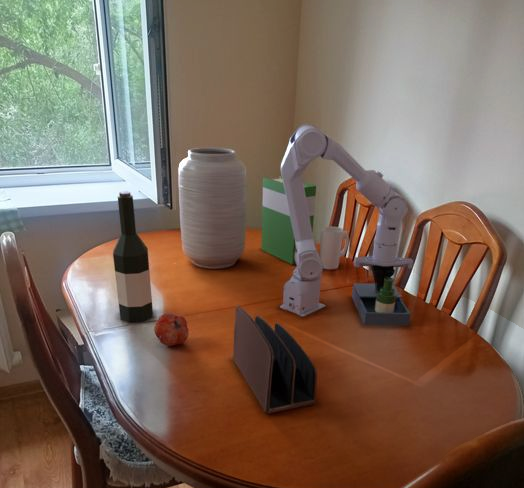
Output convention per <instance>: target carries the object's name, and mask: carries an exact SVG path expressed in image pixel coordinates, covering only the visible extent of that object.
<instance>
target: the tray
mask: <svg viewBox="0 0 524 488" xmlns="http://www.w3.org/2000/svg"><path fill="white" fill-rule="evenodd" d="M351 298H352V300H353V303H354V305H355V308H356V310H357V311H358V312H357V313H358V314H359V317H360V319H361V321H362V323H363V326H390V327H393V326H396V327H397V326H398V327H409V325H410V322H411V321H410V320H411V315H412V314H411V312H410V310H409V309H408V307H407V305H406V304H405V303H404V301H403V300H402V298H396V300H395V307H394V312H393V313H378V312H374V311H375V304H376V298H370V297H359V295H358V293H357V291H356V288H355V286H354V285H352V292H351Z"/></svg>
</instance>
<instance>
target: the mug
mask: <svg viewBox="0 0 524 488" xmlns="http://www.w3.org/2000/svg"><path fill="white" fill-rule="evenodd" d="M343 238H344V241H345V242H344V246H343V248H342V242H343ZM349 242H350V238H349V234H348V231H347V230H344V229H343V228H342V227H339V226H332V225H331V226H330V225H328V226H327V225H326V226H323V227H321V228H320V241H319V253H318V255H319V258H320V260H321V261H322V263H323V270H336V269H338V268H339V267H340V266H339V265H340V258H341V257H345V255H346V253H347V250H348V247H349Z"/></svg>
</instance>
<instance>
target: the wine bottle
mask: <svg viewBox="0 0 524 488" xmlns="http://www.w3.org/2000/svg"><path fill="white" fill-rule="evenodd" d="M118 194H119V195H117V202H118V203H117V204H118V213H119V225H120V232H121V233H120V236H119V238H118V240H117V242H116V244H115V246H114V248H113V251H112V258H113V266H114V276H115V283H116V291H117V300H118V308H119V309H118V310H119V318H120V320H121V321H124V322H127V323H128V324H129V323H130V324H133V323H134V324H135V323H145V322H146V321H149V320H150V319H153V318H154V312H153V311H154V309H153V298H152V297H153V296H152V286H151V273H150V261H149V259H150V258H149V249H148V248H149V247H147V245H146V244H145V243H144V240H142V238H141V237H140V236H139V234H138V233H137V227H136V218H135V217H136V216H135V207H134V196H133V195H131V194H132V193H131V191H125V190H124V191H119V192H118Z"/></svg>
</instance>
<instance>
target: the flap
mask: <svg viewBox="0 0 524 488" xmlns="http://www.w3.org/2000/svg"><path fill="white" fill-rule="evenodd" d="M353 286H355V288H356V291H357V293H358V295H359V297H370V298H377V294H376V292H375V283H361V282H359V283H357V282H355V283H353ZM392 288H394V289H395V291H394V292H396V294H397V295H396V298H401V299H403V298H402V297H403V296H402V294H401V293H400V292H399V290H398V289H397V287H396V286H395V284H394V283H393V285H392Z"/></svg>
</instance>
